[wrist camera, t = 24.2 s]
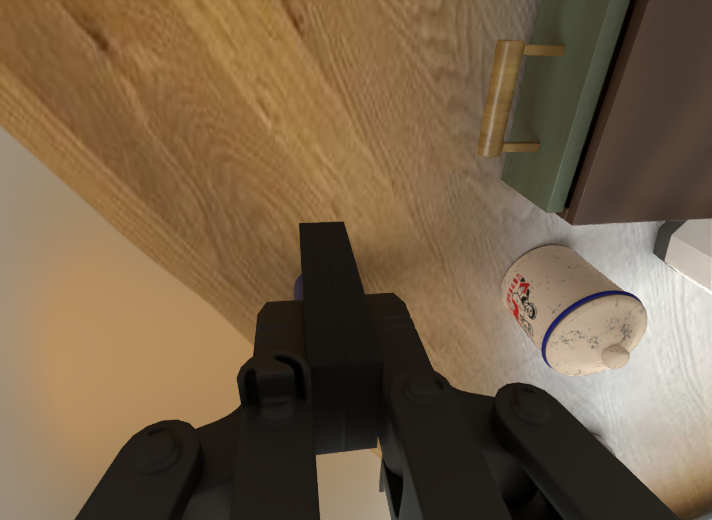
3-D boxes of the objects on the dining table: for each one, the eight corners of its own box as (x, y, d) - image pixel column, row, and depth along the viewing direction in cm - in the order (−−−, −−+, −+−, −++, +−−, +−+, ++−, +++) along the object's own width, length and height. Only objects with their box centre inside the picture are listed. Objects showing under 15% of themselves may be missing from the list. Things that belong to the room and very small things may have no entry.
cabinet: (510, 181, 34) (572, 225, 27) (559, -27, 27) (664, -45, 19) (677, 176, 37) (776, 215, 29) (765, -16, 29) (929, -29, 22)
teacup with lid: (489, 263, 39) (559, 346, 29) (577, 226, 38) (680, 298, 28) (509, 343, 45) (571, 432, 35) (585, 312, 44) (670, 395, 35)
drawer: (450, 180, 33) (486, 215, 27) (482, -21, 26) (540, -34, 20) (662, 174, 35) (737, 204, 30) (743, -9, 28) (861, -16, 23)
